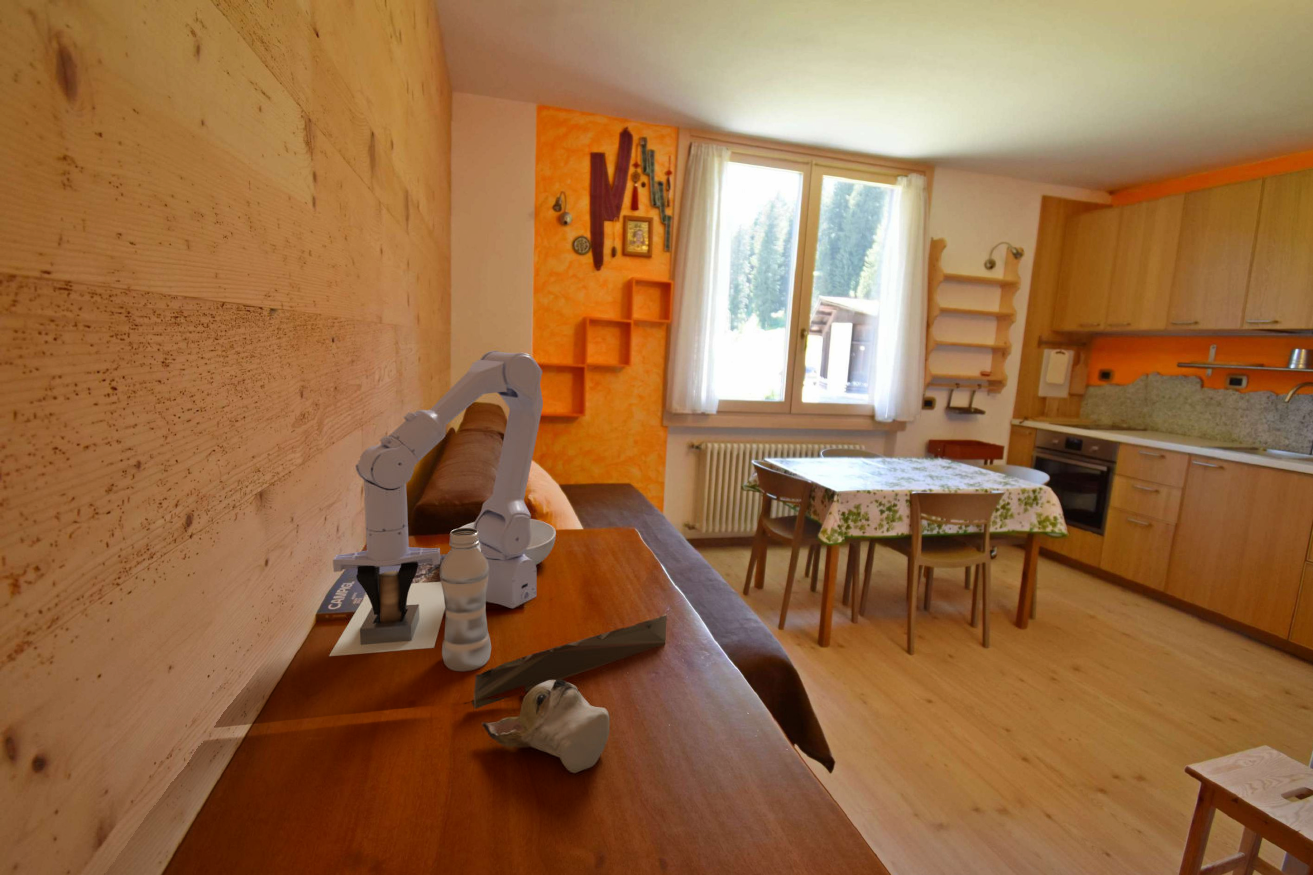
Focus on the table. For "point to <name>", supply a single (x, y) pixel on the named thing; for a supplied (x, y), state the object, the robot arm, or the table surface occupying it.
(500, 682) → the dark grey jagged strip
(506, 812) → the table surface
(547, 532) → the serving bowl
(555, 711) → the ceramic sculpture
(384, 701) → the table surface
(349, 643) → the cream board
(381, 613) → the oak dowel
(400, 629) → the grey square tray
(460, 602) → the plastic bottle
